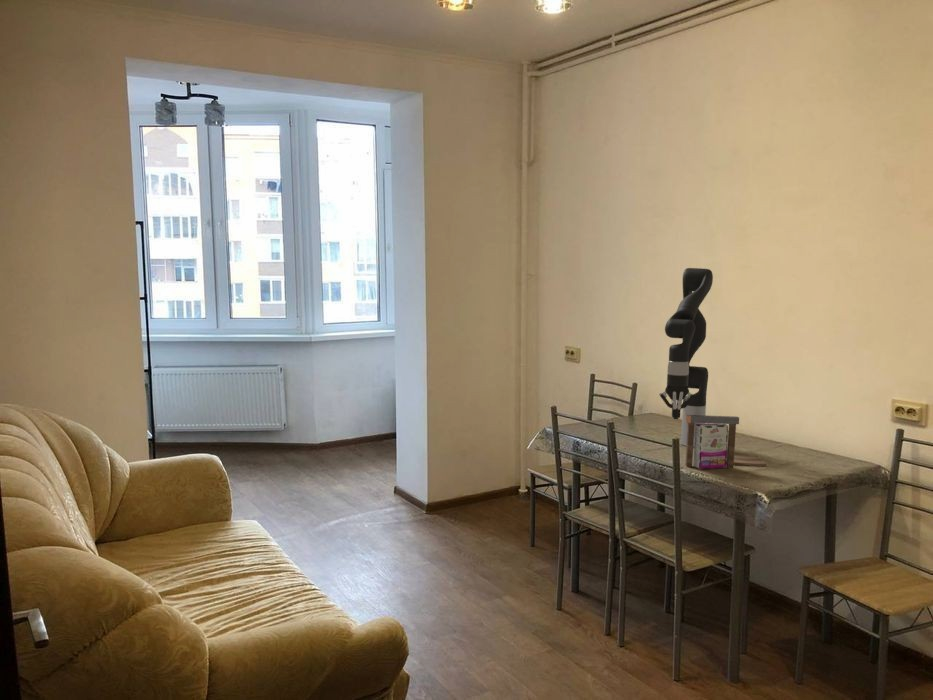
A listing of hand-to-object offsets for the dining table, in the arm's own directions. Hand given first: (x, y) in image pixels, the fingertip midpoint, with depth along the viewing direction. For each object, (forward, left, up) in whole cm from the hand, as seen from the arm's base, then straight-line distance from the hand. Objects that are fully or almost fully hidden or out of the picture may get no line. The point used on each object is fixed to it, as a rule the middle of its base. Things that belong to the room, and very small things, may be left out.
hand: (675, 418), depth 266 cm
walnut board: (-10, +27, -18) cm, 34 cm away
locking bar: (0, +13, -1) cm, 13 cm away
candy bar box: (0, +13, -18) cm, 22 cm away
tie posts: (0, +13, -18) cm, 22 cm away
